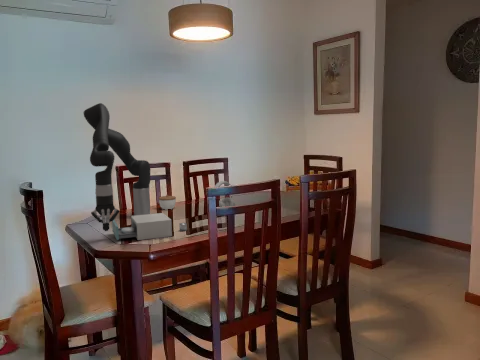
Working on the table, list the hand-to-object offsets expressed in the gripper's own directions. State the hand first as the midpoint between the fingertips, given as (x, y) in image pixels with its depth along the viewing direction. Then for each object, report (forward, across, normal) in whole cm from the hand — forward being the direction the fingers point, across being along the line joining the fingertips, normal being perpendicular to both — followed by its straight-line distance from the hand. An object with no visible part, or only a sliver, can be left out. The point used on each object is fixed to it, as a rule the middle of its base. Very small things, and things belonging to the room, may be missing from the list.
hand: (106, 230), depth 189 cm
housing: (+4, +21, 0) cm, 21 cm away
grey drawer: (+3, +11, 0) cm, 12 cm away
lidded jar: (+4, +43, +59) cm, 73 cm away
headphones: (+4, +69, +27) cm, 74 cm away
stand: (+4, +37, 0) cm, 37 cm away
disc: (+2, +10, 0) cm, 10 cm away
